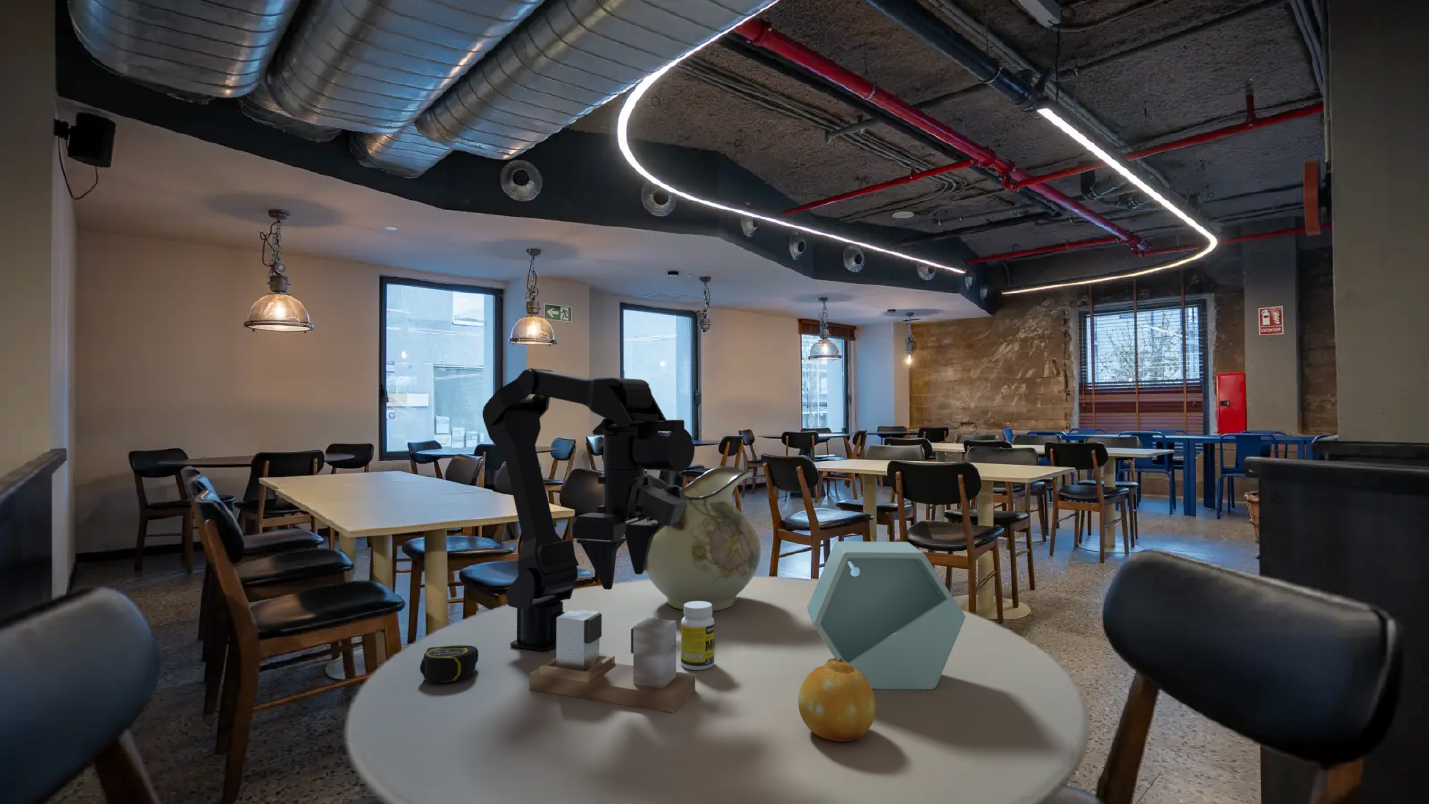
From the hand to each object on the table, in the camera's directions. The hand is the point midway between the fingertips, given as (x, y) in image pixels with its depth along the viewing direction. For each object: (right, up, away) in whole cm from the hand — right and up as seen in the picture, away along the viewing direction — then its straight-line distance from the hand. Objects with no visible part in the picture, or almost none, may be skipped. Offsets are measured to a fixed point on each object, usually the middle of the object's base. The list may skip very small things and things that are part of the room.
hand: (624, 581), depth 94 cm
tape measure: (-23, -12, -3) cm, 27 cm away
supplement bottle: (+10, -12, +1) cm, 16 cm away
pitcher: (+10, -13, +32) cm, 36 cm away
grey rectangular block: (-5, -10, -6) cm, 13 cm away
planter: (+35, -12, -3) cm, 37 cm away
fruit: (+26, -12, -19) cm, 35 cm away
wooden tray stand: (0, -12, -8) cm, 14 cm away
